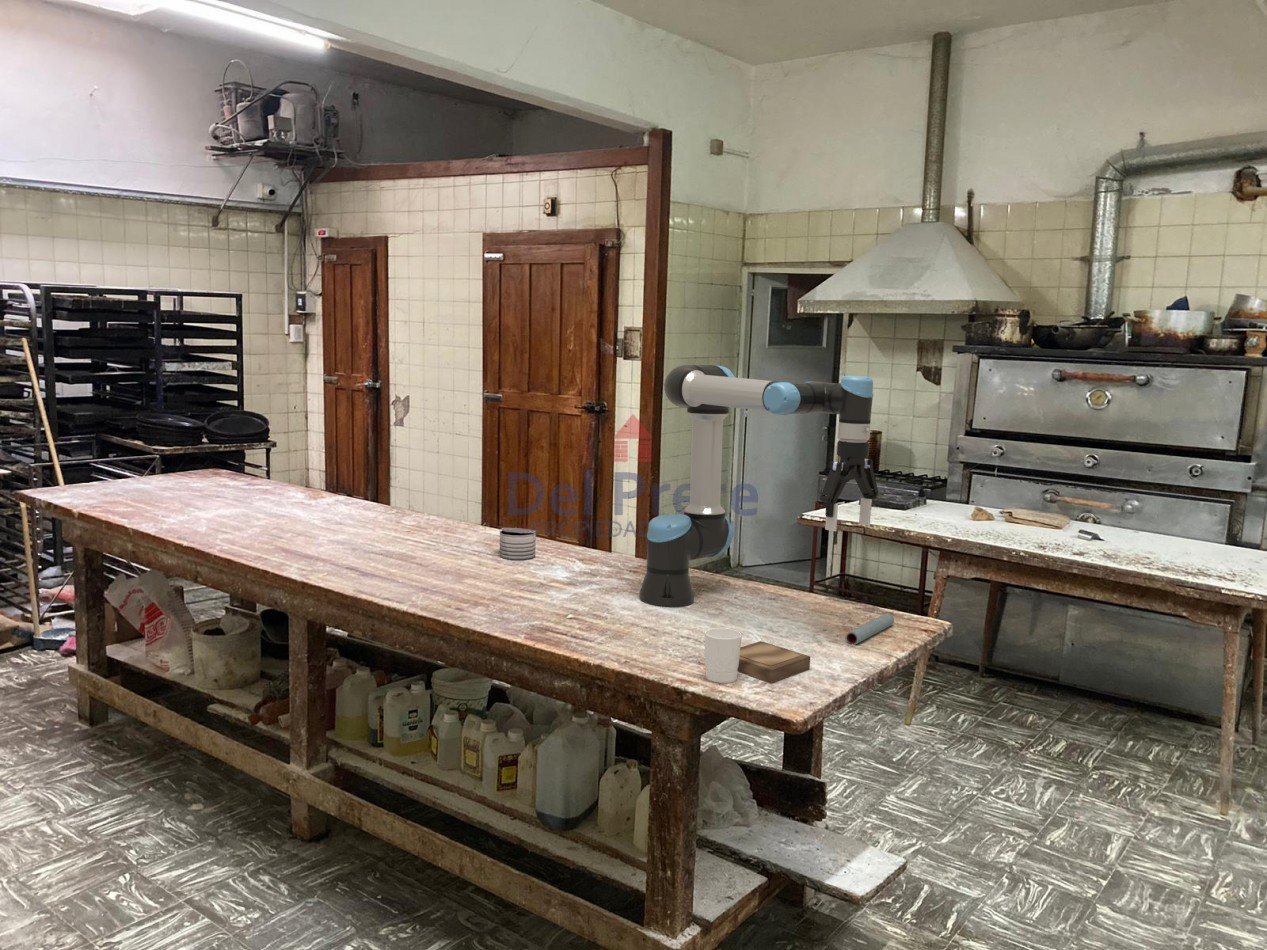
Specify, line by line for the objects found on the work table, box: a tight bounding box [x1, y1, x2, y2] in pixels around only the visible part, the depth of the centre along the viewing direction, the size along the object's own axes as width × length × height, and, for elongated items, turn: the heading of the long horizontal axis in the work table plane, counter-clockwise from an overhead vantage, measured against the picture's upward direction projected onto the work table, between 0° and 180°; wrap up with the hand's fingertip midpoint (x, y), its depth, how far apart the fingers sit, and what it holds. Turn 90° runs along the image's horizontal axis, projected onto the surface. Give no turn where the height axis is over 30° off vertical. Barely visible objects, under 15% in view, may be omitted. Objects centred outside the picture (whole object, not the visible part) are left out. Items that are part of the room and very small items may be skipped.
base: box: [737, 640, 811, 684], centre depth 211 cm, size 14×14×3 cm
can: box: [498, 527, 537, 562], centre depth 298 cm, size 11×11×12 cm
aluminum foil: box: [845, 612, 895, 646], centre depth 238 cm, size 23×7×3 cm, turn 142°
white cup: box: [704, 627, 743, 684], centre depth 203 cm, size 8×8×10 cm
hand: (847, 527), depth 229 cm, fingers open, 13 cm apart
